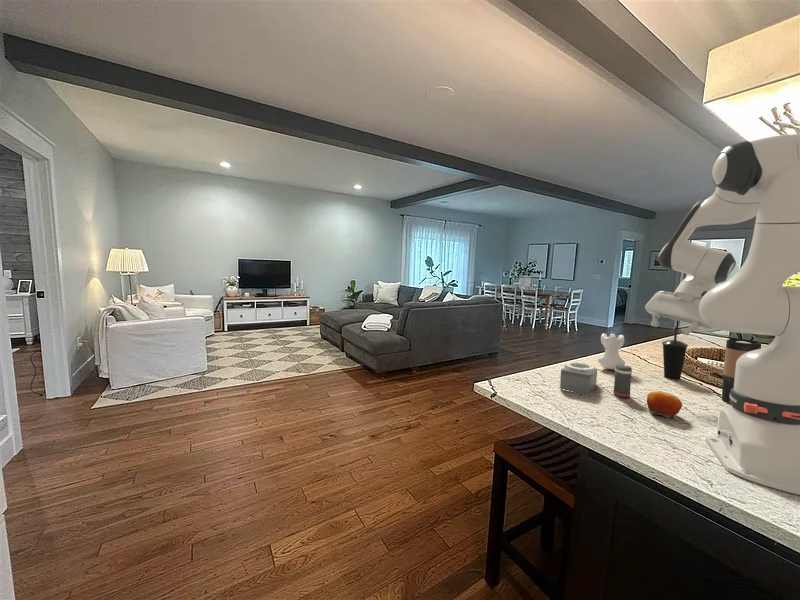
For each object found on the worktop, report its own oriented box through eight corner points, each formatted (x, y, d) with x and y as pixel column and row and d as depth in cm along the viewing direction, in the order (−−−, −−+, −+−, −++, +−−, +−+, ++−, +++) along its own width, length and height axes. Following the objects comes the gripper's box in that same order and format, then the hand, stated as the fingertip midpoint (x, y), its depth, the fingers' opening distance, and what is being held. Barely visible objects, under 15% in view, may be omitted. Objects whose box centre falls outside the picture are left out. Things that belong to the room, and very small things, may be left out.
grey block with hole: (588, 396, 110) (590, 373, 109) (560, 389, 116) (560, 367, 115) (596, 384, 121) (597, 363, 120) (569, 379, 126) (570, 358, 126)
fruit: (642, 412, 94) (646, 385, 97) (645, 417, 100) (649, 392, 102) (679, 421, 89) (682, 392, 91) (680, 426, 94) (683, 399, 96)
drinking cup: (657, 377, 127) (661, 327, 125) (661, 373, 132) (665, 324, 130) (683, 382, 121) (687, 329, 119) (686, 378, 127) (690, 327, 124)
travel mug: (762, 408, 99) (769, 344, 97) (732, 407, 101) (739, 343, 99) (741, 398, 107) (747, 338, 104) (714, 397, 108) (719, 337, 106)
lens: (629, 399, 107) (631, 370, 106) (612, 396, 110) (614, 367, 109) (630, 395, 110) (632, 366, 109) (614, 392, 113) (616, 364, 112)
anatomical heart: (596, 370, 136) (598, 335, 134) (597, 364, 145) (599, 330, 144) (624, 374, 131) (627, 338, 129) (624, 367, 140) (626, 333, 138)
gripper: (654, 285, 118) (633, 316, 118) (725, 296, 99) (700, 334, 99) (661, 294, 120) (640, 325, 120) (732, 307, 102) (707, 344, 101)
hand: (668, 329), depth 109 cm, fingers open, 8 cm apart
